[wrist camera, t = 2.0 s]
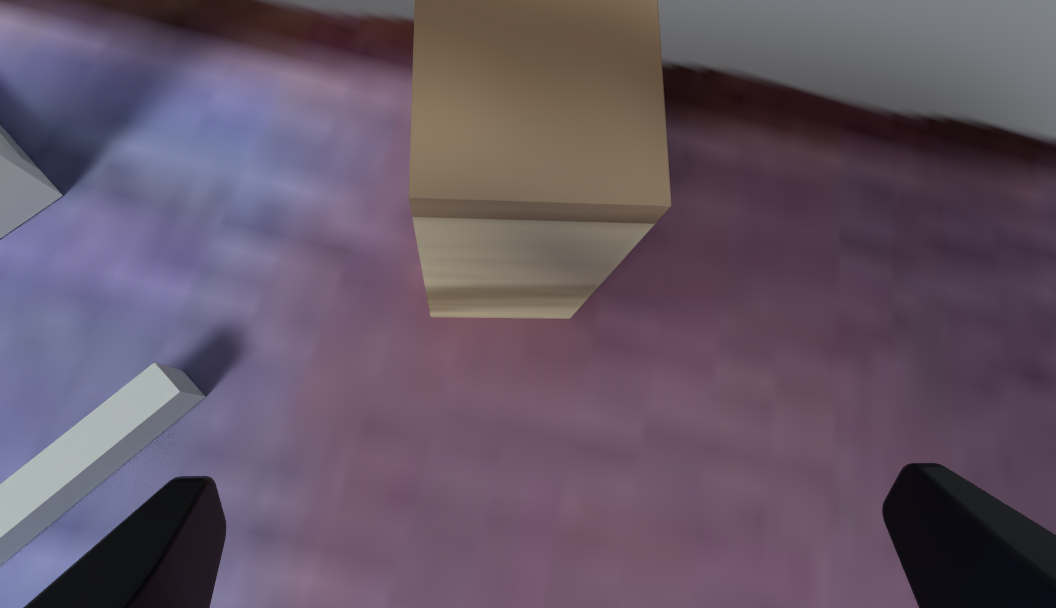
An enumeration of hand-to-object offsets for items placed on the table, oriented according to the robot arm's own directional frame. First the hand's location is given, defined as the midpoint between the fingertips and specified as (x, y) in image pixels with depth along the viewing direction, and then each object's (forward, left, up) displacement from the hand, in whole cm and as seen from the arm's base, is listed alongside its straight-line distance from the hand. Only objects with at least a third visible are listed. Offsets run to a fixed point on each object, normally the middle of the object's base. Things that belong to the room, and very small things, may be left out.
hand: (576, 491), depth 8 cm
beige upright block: (+4, -7, -14) cm, 16 cm away
